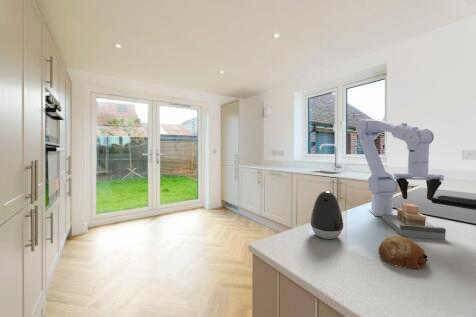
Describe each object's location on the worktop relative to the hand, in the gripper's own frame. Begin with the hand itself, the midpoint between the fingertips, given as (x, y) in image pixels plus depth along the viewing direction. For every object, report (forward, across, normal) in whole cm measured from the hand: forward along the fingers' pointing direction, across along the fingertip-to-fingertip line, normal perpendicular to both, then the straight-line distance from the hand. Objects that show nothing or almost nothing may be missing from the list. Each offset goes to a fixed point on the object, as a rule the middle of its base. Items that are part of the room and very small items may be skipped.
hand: (417, 199), depth 80 cm
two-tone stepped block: (+8, -3, -2) cm, 9 cm away
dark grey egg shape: (+11, -32, -18) cm, 39 cm away
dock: (+10, -3, -2) cm, 11 cm away
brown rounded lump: (+11, -15, -29) cm, 34 cm away
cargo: (+4, -3, -2) cm, 6 cm away
